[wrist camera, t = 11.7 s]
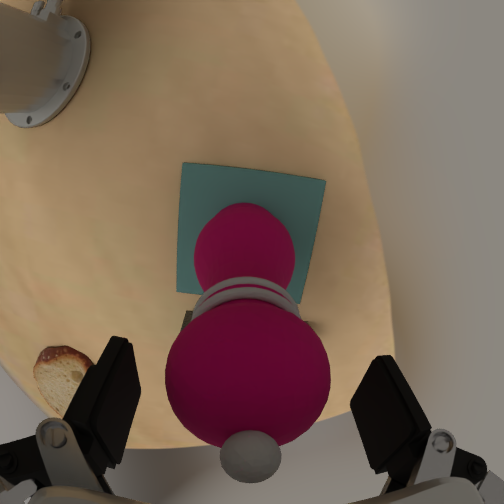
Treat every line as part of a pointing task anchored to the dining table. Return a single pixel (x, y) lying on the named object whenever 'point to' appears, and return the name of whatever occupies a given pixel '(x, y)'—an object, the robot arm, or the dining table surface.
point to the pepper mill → (246, 347)
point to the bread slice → (60, 375)
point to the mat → (246, 191)
